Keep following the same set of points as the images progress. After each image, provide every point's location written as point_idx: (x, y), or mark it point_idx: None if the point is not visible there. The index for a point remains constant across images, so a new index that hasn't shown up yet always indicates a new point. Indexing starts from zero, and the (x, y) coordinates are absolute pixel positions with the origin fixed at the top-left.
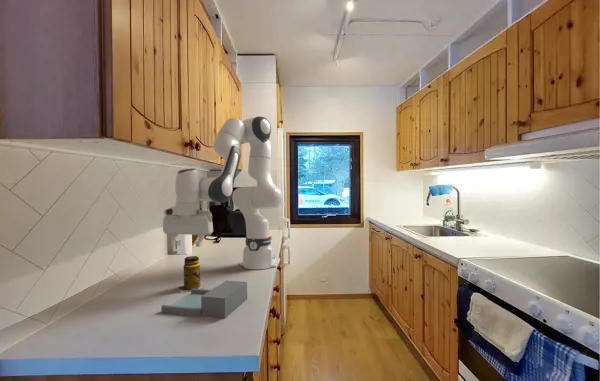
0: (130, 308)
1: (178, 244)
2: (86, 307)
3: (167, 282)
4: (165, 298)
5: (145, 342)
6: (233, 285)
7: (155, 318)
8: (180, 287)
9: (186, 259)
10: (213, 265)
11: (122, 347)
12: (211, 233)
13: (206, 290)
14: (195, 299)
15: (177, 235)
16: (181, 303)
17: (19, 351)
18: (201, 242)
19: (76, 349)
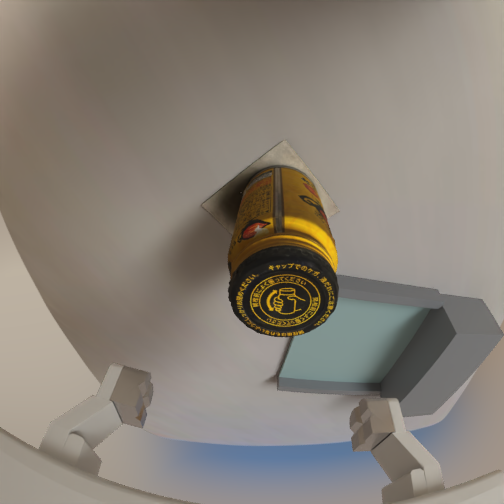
0: (181, 359)
1: (150, 395)
2: (82, 344)
3: (115, 138)
4: (231, 309)
5: (306, 432)
6: (466, 363)
7: (280, 394)
8: (223, 205)
9: (262, 333)
10: None
11: (281, 438)
12: (497, 477)
13: (377, 301)
14: (346, 329)
15: (86, 450)
16: (312, 352)
17: (157, 432)
18: (401, 424)
19: (222, 438)
